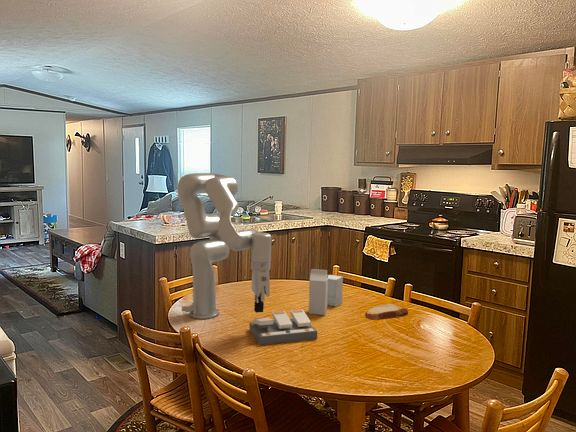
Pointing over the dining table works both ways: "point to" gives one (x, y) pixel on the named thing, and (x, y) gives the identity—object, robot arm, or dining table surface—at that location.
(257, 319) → the switch left
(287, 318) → the switch middle
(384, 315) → the slice of bread
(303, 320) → the switch right
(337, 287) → the supplement box
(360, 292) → the dining table surface
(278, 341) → the switch unit
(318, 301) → the milk carton
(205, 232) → the robot arm
